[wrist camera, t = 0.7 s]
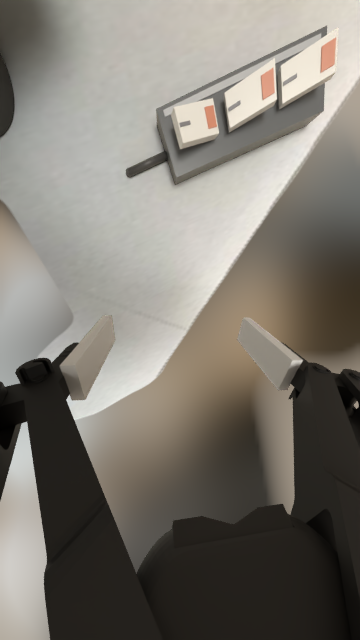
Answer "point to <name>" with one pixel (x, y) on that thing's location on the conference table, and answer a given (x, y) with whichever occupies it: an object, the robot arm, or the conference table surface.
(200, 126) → the rocker
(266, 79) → the rocker
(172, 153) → the power strip
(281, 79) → the rocker
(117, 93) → the conference table surface
